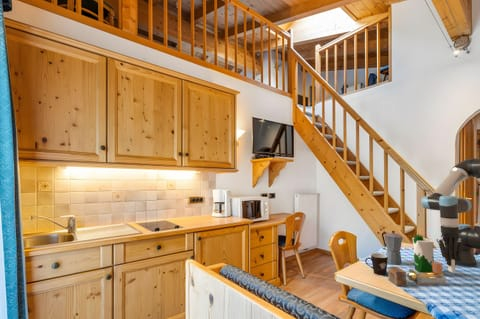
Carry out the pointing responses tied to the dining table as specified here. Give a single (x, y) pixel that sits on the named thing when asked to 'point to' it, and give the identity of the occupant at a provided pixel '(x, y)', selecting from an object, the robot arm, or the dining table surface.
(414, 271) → the sliding bolt latch
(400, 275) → the brown wooden block
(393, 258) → the moka pot
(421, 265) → the milk carton
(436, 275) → the gold piece
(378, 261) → the coffee mug
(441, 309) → the dining table surface
